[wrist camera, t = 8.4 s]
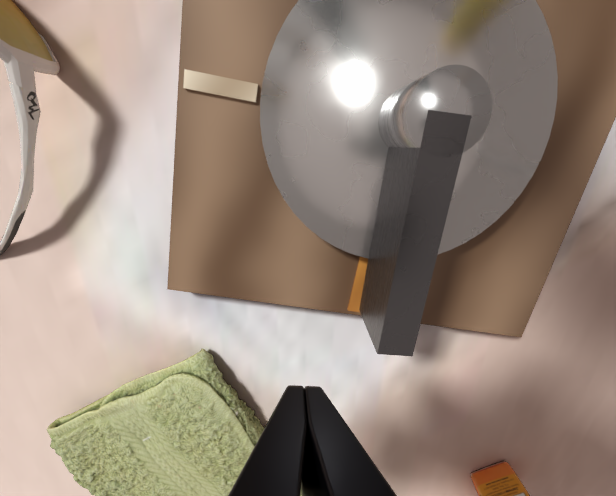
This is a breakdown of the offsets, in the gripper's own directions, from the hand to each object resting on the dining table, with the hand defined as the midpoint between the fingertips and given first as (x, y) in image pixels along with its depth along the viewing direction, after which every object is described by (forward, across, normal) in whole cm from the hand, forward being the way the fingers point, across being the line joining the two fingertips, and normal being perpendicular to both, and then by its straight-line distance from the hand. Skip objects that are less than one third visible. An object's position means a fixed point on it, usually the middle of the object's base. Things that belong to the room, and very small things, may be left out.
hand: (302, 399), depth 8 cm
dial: (+10, -5, -6) cm, 13 cm away
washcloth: (+13, +6, +17) cm, 22 cm away
